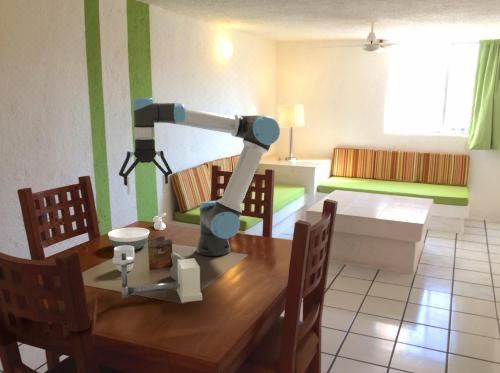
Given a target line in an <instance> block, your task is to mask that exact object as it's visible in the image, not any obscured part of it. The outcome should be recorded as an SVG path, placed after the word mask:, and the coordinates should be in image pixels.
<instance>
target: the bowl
mask: <svg viewBox="0 0 500 373" xmlns="http://www.w3.org/2000/svg"><path fill="white" fill-rule="evenodd" d="M149 234H150V230H149V229H147V228H144V227H138V226H137V227H133V226H131V227H122V228H116V229H113V230H110V231H108V233H107V236H108V237H109V238H108V239H109V243H110V244H111V246H112V247H114V248H115V247H118V246H123V245H130V246H133V247H134V251H137V250H140V249H141V248H143V247H145V246H144V245H146V244H147V242H148V241H149Z"/></svg>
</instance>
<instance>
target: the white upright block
mask: <svg viewBox="0 0 500 373" xmlns="http://www.w3.org/2000/svg"><path fill="white" fill-rule="evenodd" d="M177 261H178V283H179V284H180V287H179V288H178V289H177V290H176V292H177V294H178V297H179V300H180V302H181V303H182V304H183V303H188V302H189V303H190V302H198V301H199V302H200V301H203V293H202V291H201V267H200V265H199V264H198V262H197V261H196V259H195V257H193V258H185V259H180V260H177Z"/></svg>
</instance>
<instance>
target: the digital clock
mask: <svg viewBox="0 0 500 373" xmlns="http://www.w3.org/2000/svg"><path fill="white" fill-rule="evenodd" d="M170 258H171V260H172V264H173V265H172V266H171V267H170V278H172V280H174V282H178V261H177V260H180V259H186V258H184V257H183V256H182V255H180V254H178V253H176V252H171V253H170Z"/></svg>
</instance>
